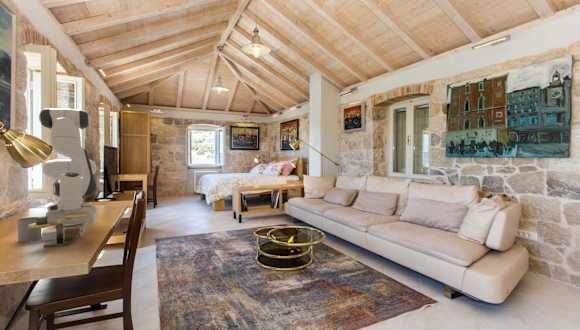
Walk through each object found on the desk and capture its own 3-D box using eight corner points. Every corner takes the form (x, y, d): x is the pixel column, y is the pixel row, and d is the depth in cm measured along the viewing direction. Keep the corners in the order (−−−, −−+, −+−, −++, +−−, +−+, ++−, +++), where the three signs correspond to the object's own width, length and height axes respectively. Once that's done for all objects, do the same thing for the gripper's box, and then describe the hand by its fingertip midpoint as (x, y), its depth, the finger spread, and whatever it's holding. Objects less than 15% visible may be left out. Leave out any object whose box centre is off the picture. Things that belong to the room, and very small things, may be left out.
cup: (27, 241, 133) (26, 221, 133) (13, 240, 134) (13, 220, 134) (45, 236, 141) (45, 217, 141) (32, 235, 143) (32, 216, 142)
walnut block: (68, 237, 141) (68, 227, 141) (80, 236, 143) (80, 226, 143) (64, 240, 136) (64, 230, 136) (76, 239, 138) (76, 229, 138)
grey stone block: (43, 238, 139) (43, 230, 138) (56, 237, 142) (56, 229, 141) (42, 241, 135) (42, 233, 134) (55, 239, 138) (55, 231, 137)
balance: (34, 243, 131) (34, 214, 130) (91, 238, 139) (91, 212, 138) (24, 249, 122) (23, 218, 122) (85, 244, 130) (84, 215, 130)
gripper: (97, 203, 145) (97, 229, 146) (49, 205, 138) (49, 232, 139) (93, 205, 139) (93, 232, 140) (43, 207, 132) (43, 236, 133)
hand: (71, 232), depth 139 cm, fingers open, 8 cm apart
